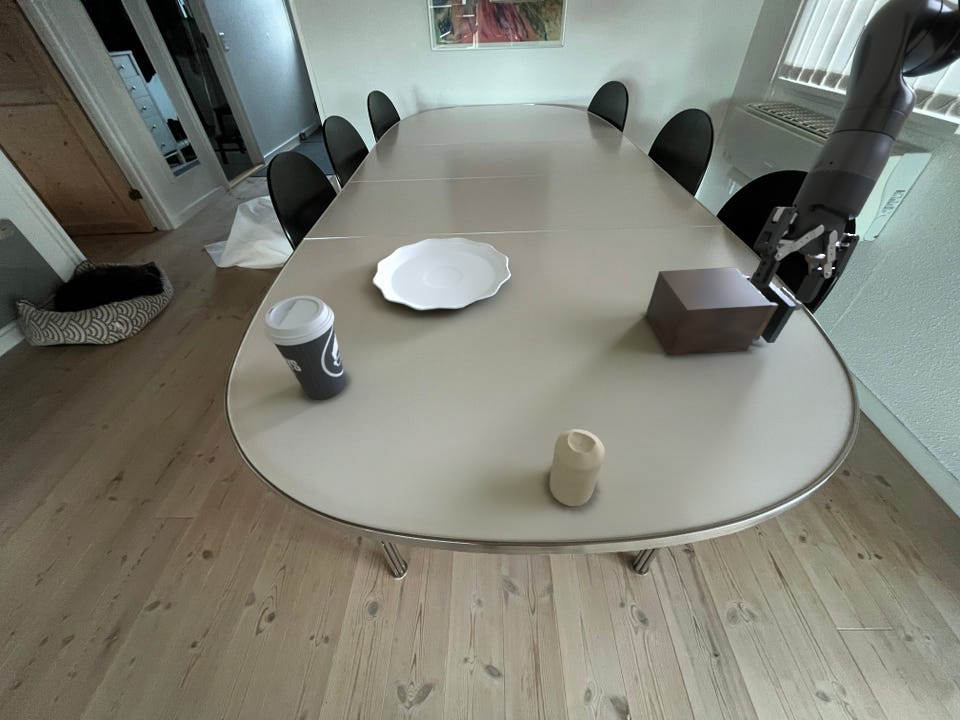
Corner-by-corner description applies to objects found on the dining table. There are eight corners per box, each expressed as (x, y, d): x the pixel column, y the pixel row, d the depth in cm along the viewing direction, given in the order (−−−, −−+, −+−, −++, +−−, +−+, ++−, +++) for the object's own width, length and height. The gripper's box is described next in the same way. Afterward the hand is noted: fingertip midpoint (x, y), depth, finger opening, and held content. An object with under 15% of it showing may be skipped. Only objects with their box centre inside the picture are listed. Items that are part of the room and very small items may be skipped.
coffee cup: (323, 358, 71) (294, 286, 61) (367, 374, 68) (344, 301, 58) (282, 395, 65) (242, 322, 55) (328, 415, 62) (295, 341, 52)
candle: (594, 473, 54) (608, 426, 47) (590, 511, 50) (605, 467, 43) (552, 464, 55) (560, 417, 48) (546, 501, 51) (553, 456, 44)
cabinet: (715, 310, 78) (734, 266, 72) (747, 350, 70) (773, 305, 63) (645, 314, 78) (659, 271, 71) (669, 355, 70) (687, 310, 63)
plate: (536, 288, 86) (537, 278, 84) (410, 337, 75) (408, 327, 73) (466, 235, 104) (466, 226, 103) (357, 269, 94) (355, 260, 92)
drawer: (762, 306, 77) (782, 270, 72) (796, 341, 70) (821, 304, 65) (677, 311, 77) (691, 275, 72) (702, 347, 70) (719, 310, 64)
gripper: (832, 155, 48) (766, 286, 53) (908, 193, 52) (841, 312, 57) (777, 162, 55) (723, 277, 60) (848, 194, 59) (792, 300, 64)
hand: (781, 294), depth 59 cm, fingers open, 8 cm apart
